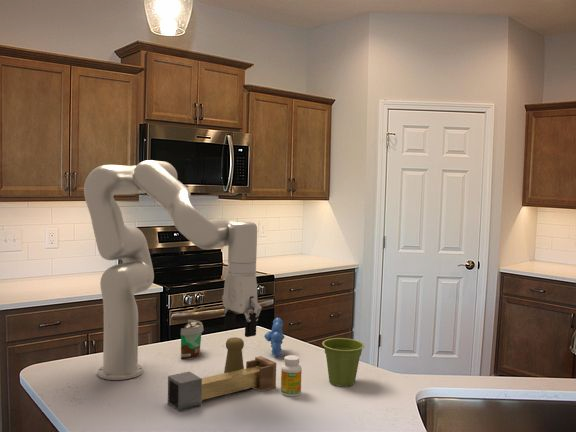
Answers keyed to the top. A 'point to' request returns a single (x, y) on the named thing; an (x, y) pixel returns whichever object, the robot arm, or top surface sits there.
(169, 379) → the steel sleeve
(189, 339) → the food container
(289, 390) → the supplement bottle
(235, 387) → the long gold plank
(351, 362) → the plant pot
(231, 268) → the robot arm
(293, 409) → the top surface
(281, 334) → the grapes
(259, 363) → the walnut socket
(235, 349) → the cork
